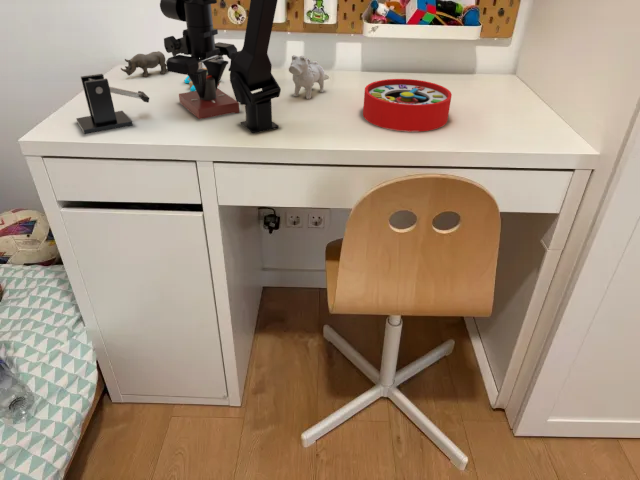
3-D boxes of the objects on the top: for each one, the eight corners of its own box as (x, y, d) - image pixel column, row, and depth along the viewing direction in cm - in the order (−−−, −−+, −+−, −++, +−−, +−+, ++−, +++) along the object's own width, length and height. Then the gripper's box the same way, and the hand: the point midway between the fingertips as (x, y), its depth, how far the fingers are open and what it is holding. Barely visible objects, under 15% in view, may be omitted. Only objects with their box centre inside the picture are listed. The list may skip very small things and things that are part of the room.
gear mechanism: (227, 72, 145) (195, 71, 145) (225, 53, 142) (193, 52, 142) (213, 93, 128) (177, 92, 128) (211, 72, 125) (174, 71, 125)
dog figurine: (284, 100, 125) (282, 56, 119) (309, 87, 134) (309, 46, 128) (301, 103, 123) (301, 59, 117) (326, 90, 132) (327, 48, 126)
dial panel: (239, 112, 116) (238, 101, 115) (199, 120, 112) (197, 108, 110) (217, 97, 125) (216, 86, 124) (180, 103, 121) (178, 93, 119)
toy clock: (349, 95, 110) (385, 74, 125) (348, 120, 114) (383, 97, 128) (434, 111, 102) (463, 87, 116) (430, 138, 105) (458, 111, 120)
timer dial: (209, 101, 115) (207, 80, 112) (196, 98, 116) (193, 78, 114) (219, 96, 118) (217, 76, 115) (206, 94, 119) (203, 74, 117)
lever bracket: (123, 115, 114) (113, 70, 108) (133, 126, 108) (123, 79, 102) (77, 123, 109) (64, 76, 103) (85, 135, 103) (72, 86, 98)
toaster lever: (141, 99, 113) (143, 89, 112) (148, 105, 109) (150, 95, 108) (85, 87, 105) (87, 76, 104) (90, 93, 102) (92, 82, 101)
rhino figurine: (119, 77, 138) (115, 55, 135) (165, 69, 146) (162, 48, 142) (125, 81, 136) (120, 58, 132) (171, 72, 143) (168, 51, 140)
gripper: (198, 14, 118) (205, 80, 127) (141, 28, 104) (154, 100, 113) (236, 19, 114) (241, 86, 123) (182, 34, 100) (192, 108, 109)
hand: (207, 94), depth 117 cm, fingers closed on timer dial, 4 cm apart
